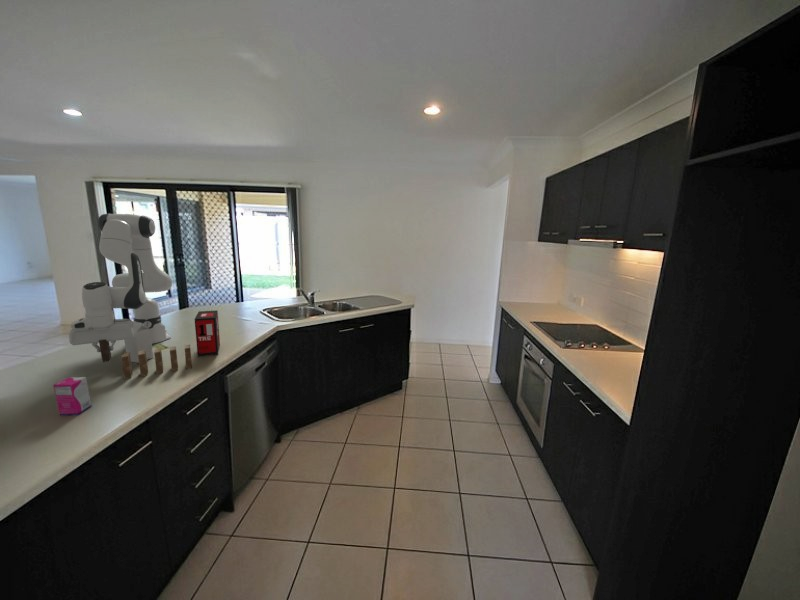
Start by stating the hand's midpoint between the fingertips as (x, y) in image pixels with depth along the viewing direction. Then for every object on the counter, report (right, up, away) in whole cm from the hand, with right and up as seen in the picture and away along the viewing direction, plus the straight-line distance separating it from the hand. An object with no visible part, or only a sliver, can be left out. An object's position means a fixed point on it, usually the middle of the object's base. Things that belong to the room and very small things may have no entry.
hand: (105, 350), depth 137 cm
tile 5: (+24, -10, +8) cm, 27 cm away
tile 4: (+20, -10, +5) cm, 23 cm away
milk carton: (+1, -7, +17) cm, 18 cm away
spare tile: (0, -4, +1) cm, 4 cm away
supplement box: (+15, -17, -27) cm, 36 cm away
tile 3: (+15, -11, +2) cm, 19 cm away
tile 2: (+11, -11, -1) cm, 15 cm away
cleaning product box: (+26, -5, +32) cm, 42 cm away
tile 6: (+29, -9, +12) cm, 32 cm away
